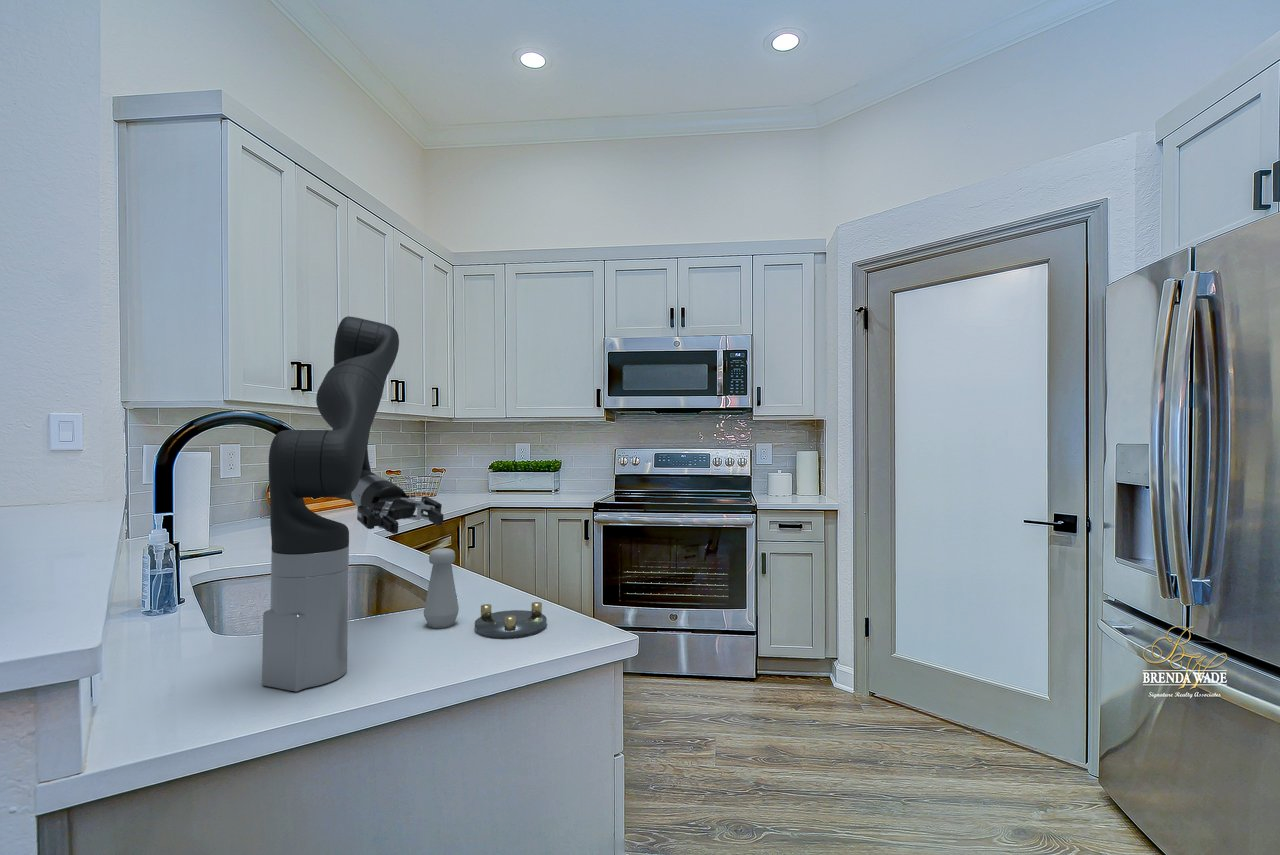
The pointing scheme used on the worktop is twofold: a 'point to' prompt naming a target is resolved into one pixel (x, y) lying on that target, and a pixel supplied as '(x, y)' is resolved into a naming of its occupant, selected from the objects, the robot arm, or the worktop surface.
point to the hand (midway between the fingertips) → (419, 524)
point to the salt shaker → (441, 590)
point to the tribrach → (510, 622)
